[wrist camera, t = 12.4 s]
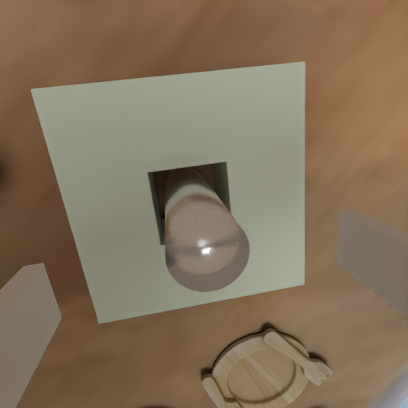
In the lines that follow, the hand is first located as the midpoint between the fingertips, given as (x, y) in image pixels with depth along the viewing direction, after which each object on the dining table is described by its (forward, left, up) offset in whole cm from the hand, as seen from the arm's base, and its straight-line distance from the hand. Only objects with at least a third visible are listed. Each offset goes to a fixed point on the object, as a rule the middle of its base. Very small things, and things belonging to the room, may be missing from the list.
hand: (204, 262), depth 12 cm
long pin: (0, 0, -15) cm, 15 cm away
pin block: (0, 0, -15) cm, 15 cm away
